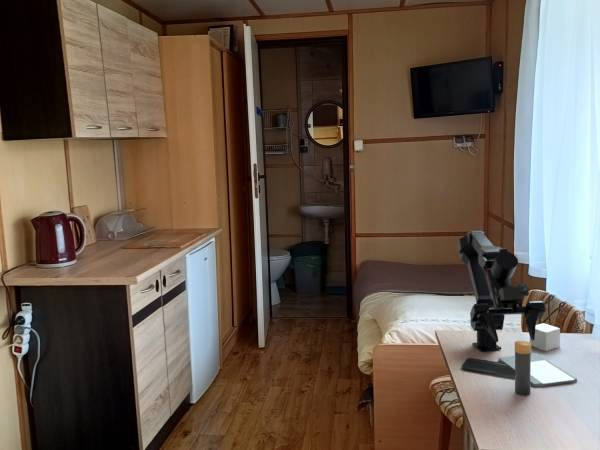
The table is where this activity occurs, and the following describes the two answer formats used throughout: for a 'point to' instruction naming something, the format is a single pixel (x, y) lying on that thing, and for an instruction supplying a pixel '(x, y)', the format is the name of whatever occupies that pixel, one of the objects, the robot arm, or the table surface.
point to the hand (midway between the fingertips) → (515, 340)
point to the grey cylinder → (522, 367)
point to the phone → (488, 368)
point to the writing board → (542, 371)
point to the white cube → (546, 337)
